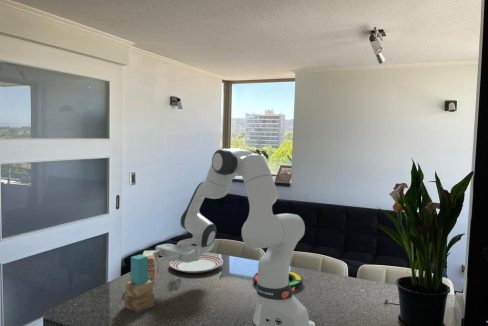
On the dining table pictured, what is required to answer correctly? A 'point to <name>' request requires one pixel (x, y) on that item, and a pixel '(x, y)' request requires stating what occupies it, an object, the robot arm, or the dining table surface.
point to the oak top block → (139, 289)
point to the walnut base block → (138, 303)
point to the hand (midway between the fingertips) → (161, 257)
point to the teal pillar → (139, 269)
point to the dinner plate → (198, 264)
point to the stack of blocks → (152, 265)
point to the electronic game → (293, 276)
